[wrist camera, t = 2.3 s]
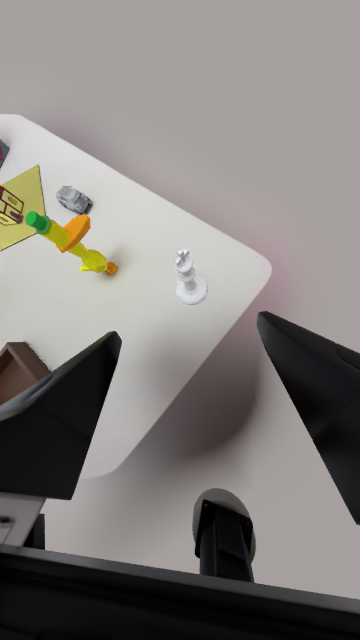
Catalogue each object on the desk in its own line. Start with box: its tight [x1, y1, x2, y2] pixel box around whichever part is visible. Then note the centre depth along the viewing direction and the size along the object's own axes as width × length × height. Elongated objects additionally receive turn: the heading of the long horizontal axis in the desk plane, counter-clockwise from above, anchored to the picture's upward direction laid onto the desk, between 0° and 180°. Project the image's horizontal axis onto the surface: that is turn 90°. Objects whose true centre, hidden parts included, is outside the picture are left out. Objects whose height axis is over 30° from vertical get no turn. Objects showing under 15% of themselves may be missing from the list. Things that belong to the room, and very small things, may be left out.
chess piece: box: [174, 248, 208, 305], centre depth 18 cm, size 5×5×10 cm
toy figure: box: [25, 211, 117, 275], centre depth 20 cm, size 7×4×12 cm, turn 135°
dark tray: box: [0, 342, 51, 406], centre depth 25 cm, size 14×12×3 cm
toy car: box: [56, 186, 92, 215], centre depth 29 cm, size 4×8×3 cm, turn 57°
